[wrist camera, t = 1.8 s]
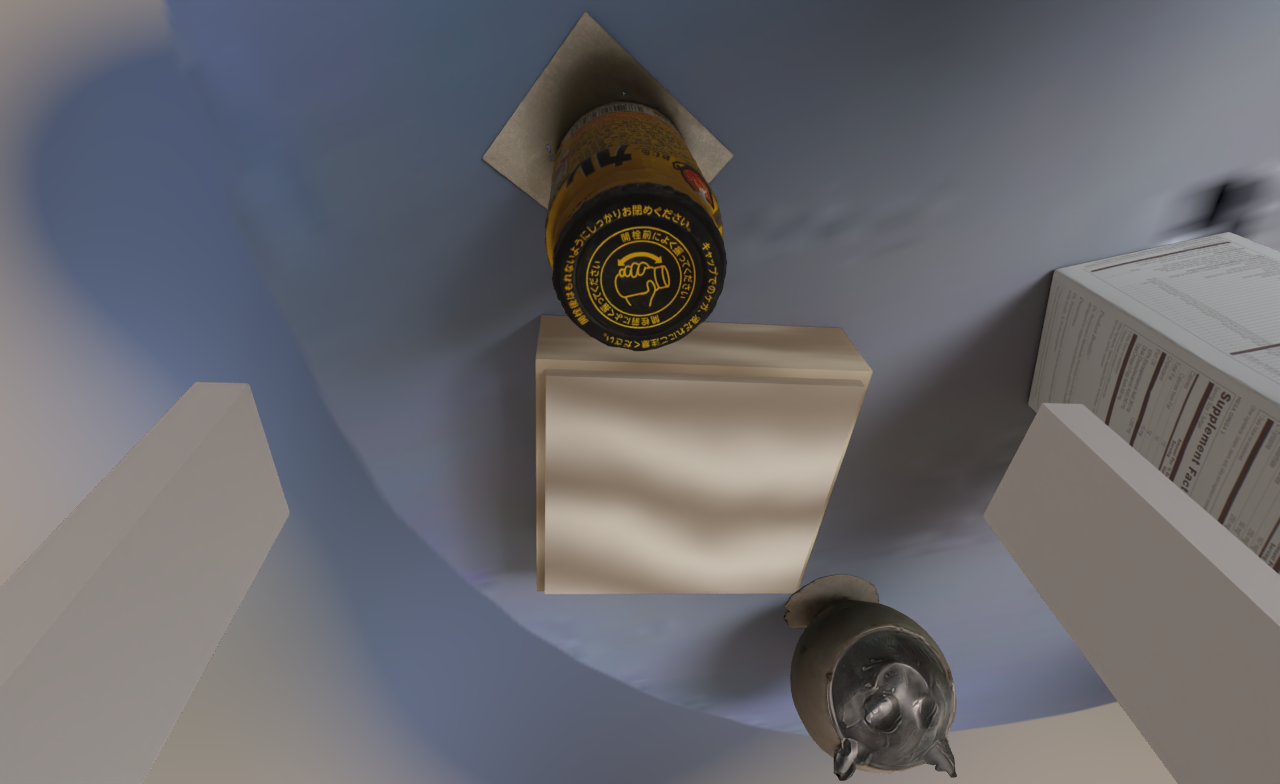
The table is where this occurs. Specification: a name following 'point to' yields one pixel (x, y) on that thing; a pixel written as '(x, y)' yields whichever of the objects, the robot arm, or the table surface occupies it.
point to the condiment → (619, 193)
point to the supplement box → (1180, 369)
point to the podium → (688, 456)
